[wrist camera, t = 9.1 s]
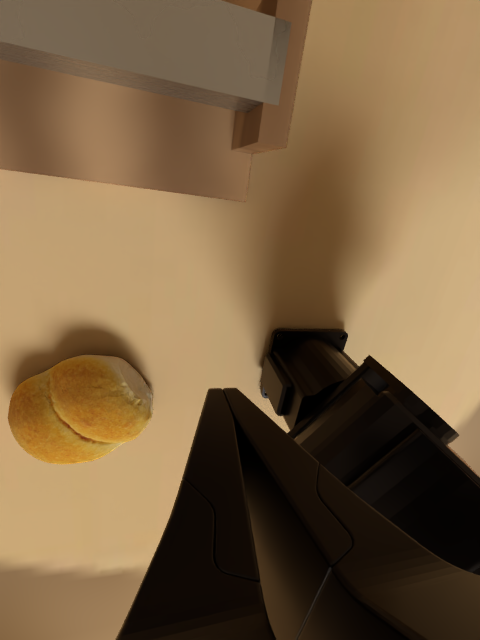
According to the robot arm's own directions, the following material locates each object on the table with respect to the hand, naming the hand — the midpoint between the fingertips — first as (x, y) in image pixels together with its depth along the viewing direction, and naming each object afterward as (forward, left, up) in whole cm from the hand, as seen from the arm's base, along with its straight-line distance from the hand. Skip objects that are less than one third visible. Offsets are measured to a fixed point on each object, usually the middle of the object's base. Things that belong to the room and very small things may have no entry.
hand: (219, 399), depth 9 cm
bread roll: (+7, +10, -13) cm, 18 cm away
